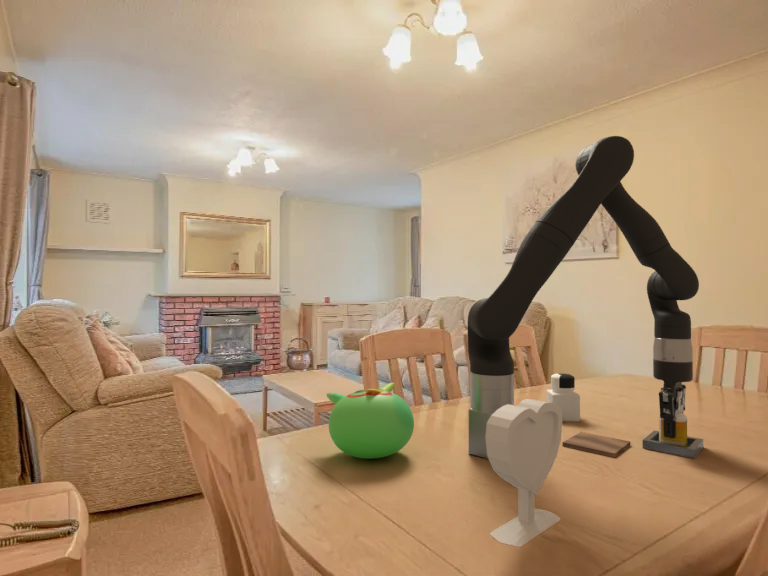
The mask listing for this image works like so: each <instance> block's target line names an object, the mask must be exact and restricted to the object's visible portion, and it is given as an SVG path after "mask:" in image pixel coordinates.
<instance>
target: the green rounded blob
mask: <svg viewBox="0 0 768 576" xmlns="http://www.w3.org/2000/svg"><path fill="white" fill-rule="evenodd" d="M395 385H396V383H395V382H389V383H387V384H385V385H382V386H381V387H379V388H367V389H359V390H356V391H354V392H351V393H349V394H347V395H346V394H341V393H338V392H337V393H336V392H328V393H326V397H327V399H329V401H330V402H332V404H334V407H333V408H332V410H331V412H330V414H329V417H328V418H329V419H328V432H329V434H330V437H331V440H332V442H333V444H334V445H335V446H336V447H337V448H338V449H339V450H340V451H341V452H343V453H345V454H346V455H349V456H352V457H354V458H358V459H364V460H365V459H369V460H370V459H372V460H373V459H381V458H386V457H388V456H391V455H393V454H396V453H397V452H399V451H401V450H402V449H403V448H405V447H406V446H407V444H408V443H409V441H410V440H411V438H412V436H413V433H414V428H415V419H414V418H415V417H414V414H413V412H412V409H411V407H410V405H409V404H408V403H407V402H406V400H405V399H404V398H402V397H401V396H400V395H397V394H396V393H393V392H392V390H394V387H395Z"/></svg>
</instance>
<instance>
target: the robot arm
mask: <svg viewBox="0 0 768 576" xmlns="http://www.w3.org/2000/svg"><path fill="white" fill-rule="evenodd" d="M634 159H635V150H634V147H633V145H632V143H631V141H630V140H629V139H628V138H626V137H623V136H620V135H613V136H611V135H610V136H607V137H604V138H601V139H599V140H597V141H595V142H594V143H592V144H590V145H588V146H586V147H584V148H583V149H581V150H580V151H579V153H578V155H577V157H576V158H575V169H576V170H575V171H576V172H577V175H578V176H577V178H575V180H574V182H573V183H572V185H570V187H568V189H567V190H566V191H564V193H562V194H561V195H560V196H559V197H558V198H557V199H556V200H554V202H553V203H552V204H551V205H550V206H549V207H547V208H546V209H545V211H543V213H541V215H540V216H539V217H538V218H537V220H536V221H535V222H534V223H533V225H532V227H531V228H530V230H529V231H528V232H527V234H526V235H525V237H524V239H523V240H522V242H521V244H520V246H519V248H518V250H517V252H516V255H515V257H514V260H513V262H512V265H511V267H510V270H509V271H508V273H507V275H506V276H505V277H504V279H503V280H502V281H501V282H500V284H499V285H498V287H496V289H495V290H494V291H493V293H491V294H490V295H489V297H486V298H482V299H479V300H477V301H475V302H474V304H473V305H471V307H470V309H469V310H468V311H469V312H468V316H467V353H468V354H467V355H468V360H469V370H470V371H469V372H470V373H469V374H470V375H469V377H470V379H469V380H470V383H469V384H470V386H469V387H470V389H469V393H470V395H469V397H470V398H469V400H470V401H469V402H470V403H469V404H470V405H469V406H470V407H469V409H468V454H470V455H473V456H477V457H480V458H484V459H488V456H487V448H486V438H485V437H486V426H487V422H488V420H489V418H490V416H491V415H492V414H493V413H494V412H495V411H496V410H498V409H499V408H501V407H502V406H504V405H507V404H509V405H514V406H515V364H514V359H513V357H512V353H511V350H510V338H511V336H512V335H513V334H514V333H515V332H516V330H517V329H518V327H519V325H520V324H521V322H522V320H523V318H524V316H525V314H526V313H527V311H528V310H529V307H530V306H531V304H532V302H533V300H534V298H536V295H537V294H538V292H539V291H540V290H541V288H542V287H543V286H544V285H545V283H546V282H547V281H548V280H549V278H550V277H552V275H553V273H554V272H555V270H557V268H558V267H559V265H560V264H561V262H562V261H563V260H564V258H565V257H566V256H567V255H568V253H569V252H570V251H571V249H572V247H573V246H574V245H575V243H576V241H577V240H578V238H579V237H580V235H581V234H582V233H583V231H584V229H585V228H586V227H587V225H589V224H588V223H589V222H590V221H591V219H592V218H593V216H594V215H595V213H596V212H597V211H598V209H599V207H600V206H601V205H602V207H603V208H604V209H605V210H606V213H608V214H609V216H610V217H611V219H612V220H613V221H614V223H615V224H616V226H617V227H618V228H619V230H620V231H621V233H622V234H623V236H624V238H625V240H626V242H627V243H628V245H629V247H630V249H631V251H632V252H633V254H634V255H635V257H636V259H637V261H638V263H640V264H641V265H642V266H643V267H646V268H650V269H652V270H654V271H653V272H652V273H651V274H650V276H649V277H648V280H647V283H646V293H647V294H646V295H647V297H648V303H649V305H650V310H651V313H652V316H653V320H654V327H653V328H654V330H653V333H654V334H653V335H654V336H653V338H654V339H653V349H652V353H653V356H652V357H653V358H652V360H653V361H652V362H653V363H652V364H653V365H652V370H653V371H652V373H653V375H652V376H653V377H654V379H655V380H659V381H663V387H660V391H659V392H658V399H659V400H658V401H659V414H660V418H662V419H663V420H664V436H665V437H668V438H675V437H676V420H677V418H676V415H677V411H679V410H680V404H682V405H683V412H682V414H684V412H685V410H686V389H687V386H686V384H682V383H689V382H692V381H693V379H694V374H693V373H694V370H693V368H694V367H693V365H694V361H693V360H694V359H693V358H694V357H693V343H692V320H691V319H692V318H691V316H690V314H689V313H687V312H685V311H683V310H681V309H680V306H679V304H678V301H688V300H691V299H693V298H694V297H695V296H696V295H697V293H698V291H699V287H700V283H699V282H700V281H699V277H698V276H697V273H696V271H695V270H694V269H693V267H692V266H691V265H690V264H689V262H687V261H686V260H685V259H684V258H683V257H682V255H681V254H679V252H677V251H676V250H675V248H673V247H672V246H671V244H670V242H669V240H668V238H667V236H666V234H665V233H664V231H663V229H662V228H661V226H660V224H659V223H658V222H657V220H656V219H655V218H654V217H653V215H652V214H650V213H649V211H647V210H646V209H645V208H644V207H643V206H642V205H640V204H639V203H638V202H637V201H636V200H635V199H634V198H633V197H632V196H631V195H630V193H628V191H627V190H626V189H625V187H624V185H623V184H622V182H621V181H622V180H623V179H624V178H625V176H626V175H627V174H628V172H629V171H630V170H631V168H632V165H634V164H633V163H634ZM674 405H675V406H674ZM667 410H670V414H668V413H666V411H667ZM684 415H685V414H684ZM488 460H489V459H488Z"/></svg>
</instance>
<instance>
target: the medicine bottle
mask: <svg viewBox="0 0 768 576" xmlns="http://www.w3.org/2000/svg"><path fill="white" fill-rule="evenodd" d="M575 383H576V382H575V376H573V374H569V373H563V372H562V373H558V372H557V373H554V374H551V376H550V388H551V389H546V402H549V403H554V404H556V405H558V406H559V407H560V409H561V412H562V422H574V423H575V422H578V423H579V422H580V421H581V396H580V394H579V393H577V392H576V391H575V390H576V388H575V386H576V385H575Z"/></svg>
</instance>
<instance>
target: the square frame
mask: <svg viewBox="0 0 768 576" xmlns="http://www.w3.org/2000/svg"><path fill="white" fill-rule="evenodd" d="M703 448H704V438H699V437H693V436H688V435H687V447H685V446H680V445H675V444H669V443H664V442H659V430H653V431H651V433H649V434H648V435H646V437H644V438H642V449H645V450H650V451H656V452H660V453H664V454H670V455H675V456H681V457H684V458H685V457H686V458H691V459H696V458H697V456H698V455H699V454H700V452H701V451H702V450H703Z"/></svg>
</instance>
